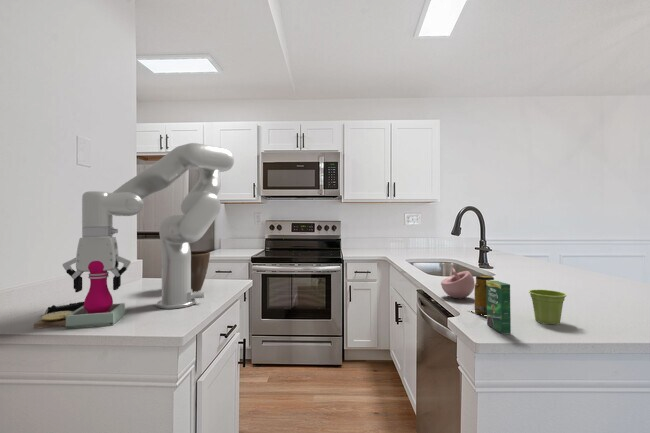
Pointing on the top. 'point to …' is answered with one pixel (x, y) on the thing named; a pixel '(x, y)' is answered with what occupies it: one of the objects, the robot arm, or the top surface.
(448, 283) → the mortar and pestle
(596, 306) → the top surface
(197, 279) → the plant pot
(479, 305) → the condiment
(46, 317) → the gold disc
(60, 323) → the checker plinth
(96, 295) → the pepper mill
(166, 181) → the robot arm
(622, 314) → the top surface
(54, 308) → the electric trimmer
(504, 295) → the coffee box
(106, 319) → the trough tray
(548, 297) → the plant pot
